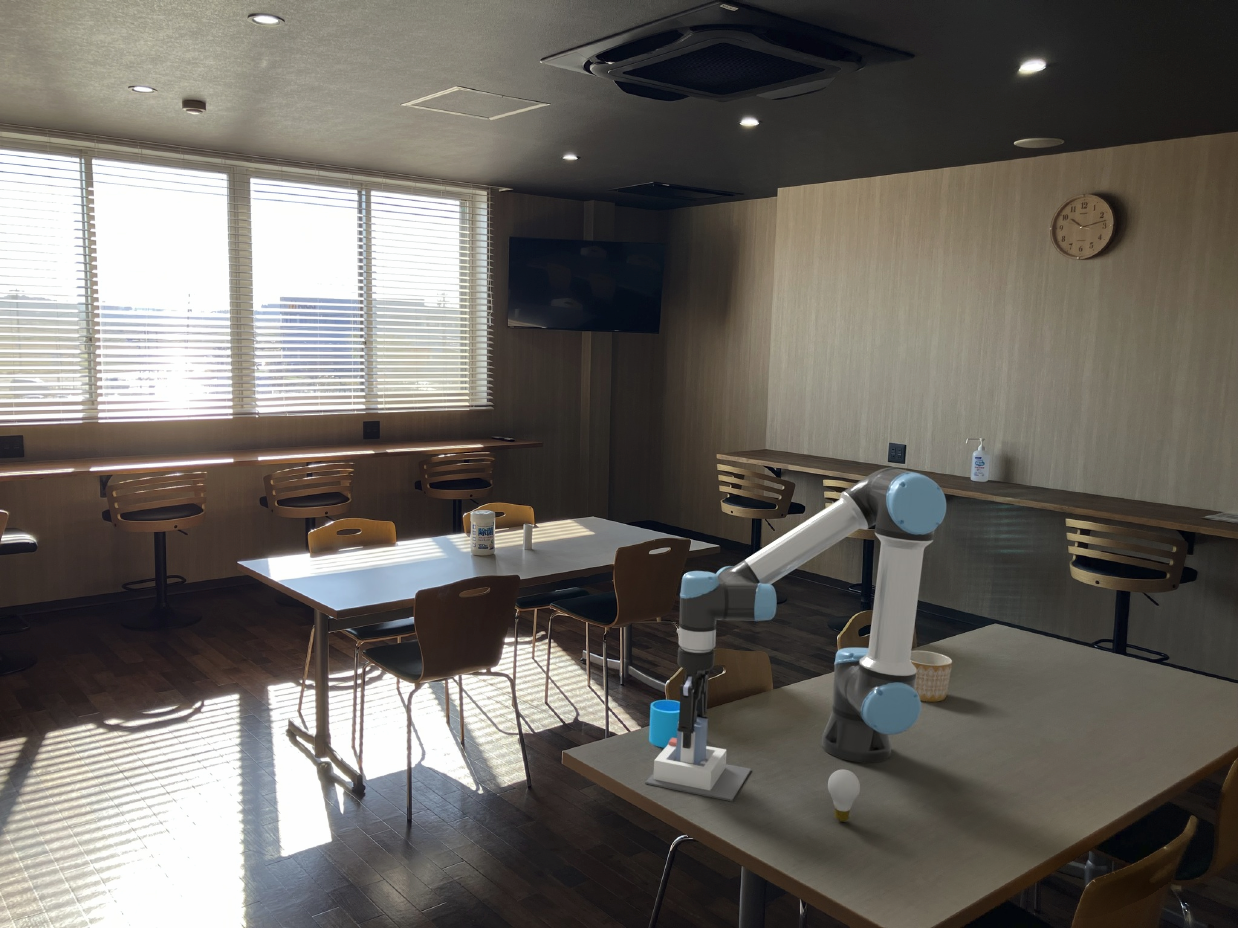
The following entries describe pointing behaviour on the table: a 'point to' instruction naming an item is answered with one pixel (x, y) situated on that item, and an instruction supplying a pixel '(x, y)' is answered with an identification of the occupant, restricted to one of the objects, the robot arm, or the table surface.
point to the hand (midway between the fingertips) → (691, 756)
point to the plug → (700, 740)
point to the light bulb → (843, 792)
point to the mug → (663, 722)
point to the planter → (931, 675)
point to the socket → (698, 774)
